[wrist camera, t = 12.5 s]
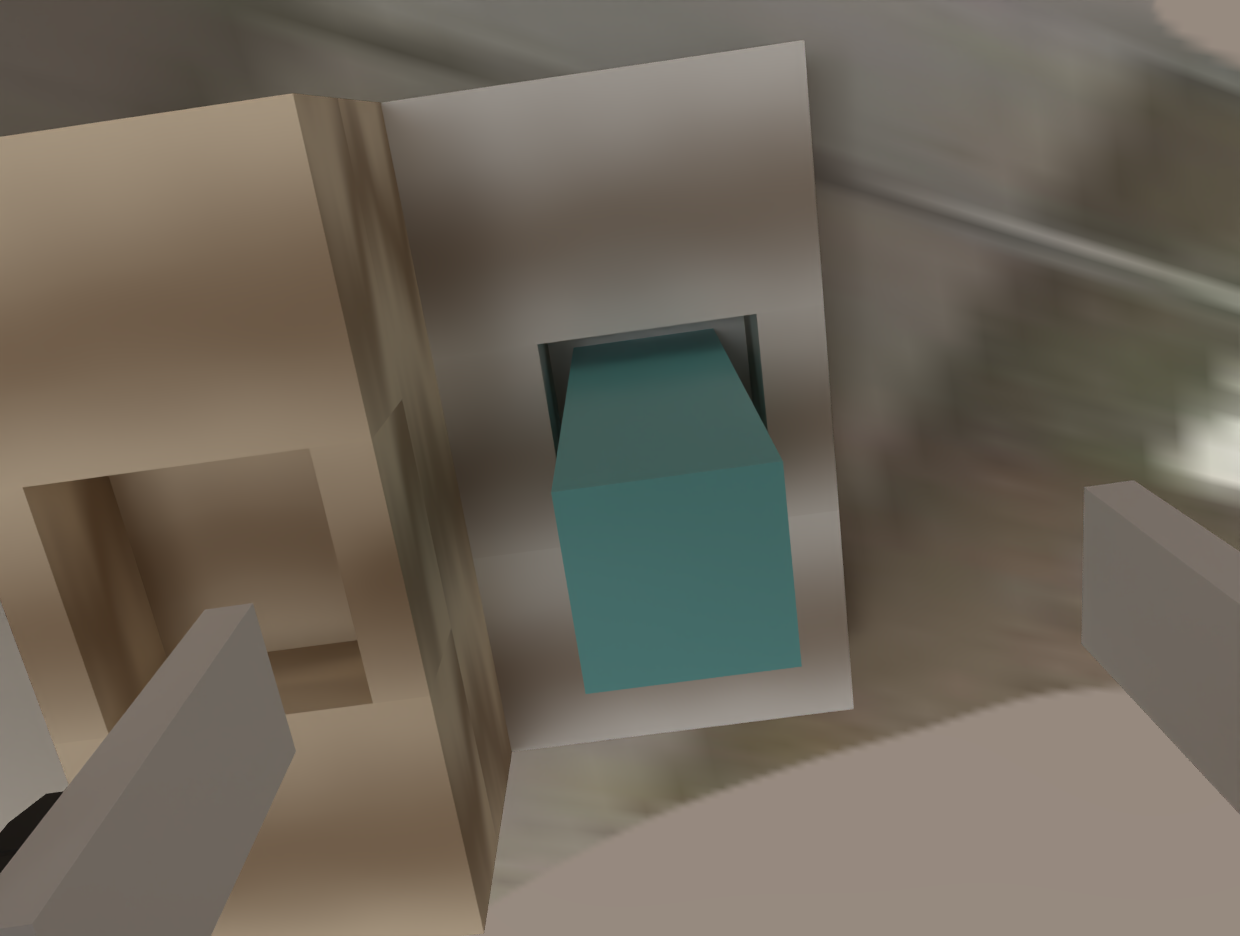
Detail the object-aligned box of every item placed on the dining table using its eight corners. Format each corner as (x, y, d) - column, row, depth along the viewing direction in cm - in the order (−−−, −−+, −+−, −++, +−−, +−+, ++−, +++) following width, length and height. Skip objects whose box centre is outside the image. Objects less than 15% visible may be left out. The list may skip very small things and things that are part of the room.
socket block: (126, 148, 28) (-163, 160, 17) (777, 51, 27) (881, 5, 17) (284, 711, 34) (139, 975, 23) (825, 642, 33) (925, 879, 23)
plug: (573, 347, 29) (551, 492, 17) (713, 328, 29) (782, 460, 17) (597, 501, 30) (591, 726, 19) (730, 483, 30) (804, 699, 19)
